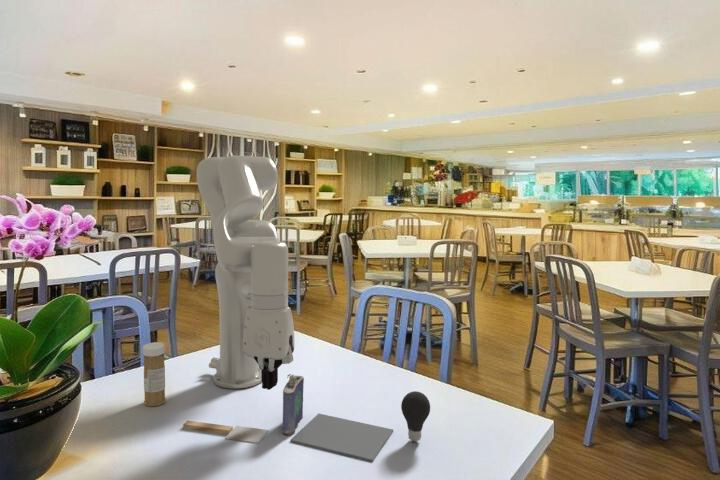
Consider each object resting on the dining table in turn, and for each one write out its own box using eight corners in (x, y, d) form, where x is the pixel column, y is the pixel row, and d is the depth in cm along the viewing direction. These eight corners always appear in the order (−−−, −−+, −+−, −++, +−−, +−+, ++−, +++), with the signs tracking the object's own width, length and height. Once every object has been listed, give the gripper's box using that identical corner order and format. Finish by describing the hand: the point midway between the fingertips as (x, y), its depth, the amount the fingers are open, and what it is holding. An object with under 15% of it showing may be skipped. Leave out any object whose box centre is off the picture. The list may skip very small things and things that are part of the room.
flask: (292, 436, 96) (293, 384, 94) (278, 435, 96) (278, 383, 95) (304, 415, 105) (305, 367, 104) (291, 414, 105) (292, 366, 104)
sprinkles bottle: (145, 399, 110) (144, 342, 109) (166, 397, 112) (165, 340, 110) (142, 408, 106) (141, 348, 105) (165, 406, 107) (163, 347, 106)
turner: (178, 433, 96) (178, 428, 96) (192, 421, 101) (192, 416, 101) (258, 444, 93) (258, 439, 93) (268, 431, 98) (268, 426, 97)
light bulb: (421, 452, 91) (423, 401, 90) (395, 443, 94) (396, 394, 93) (433, 439, 96) (435, 391, 95) (407, 431, 99) (409, 384, 98)
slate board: (290, 441, 94) (290, 439, 94) (318, 415, 105) (318, 413, 105) (372, 461, 87) (372, 459, 87) (393, 431, 99) (393, 429, 98)
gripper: (228, 300, 99) (229, 387, 101) (292, 309, 93) (291, 400, 95) (249, 294, 106) (250, 375, 108) (310, 301, 100) (309, 386, 102)
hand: (269, 386), depth 101 cm, fingers closed
